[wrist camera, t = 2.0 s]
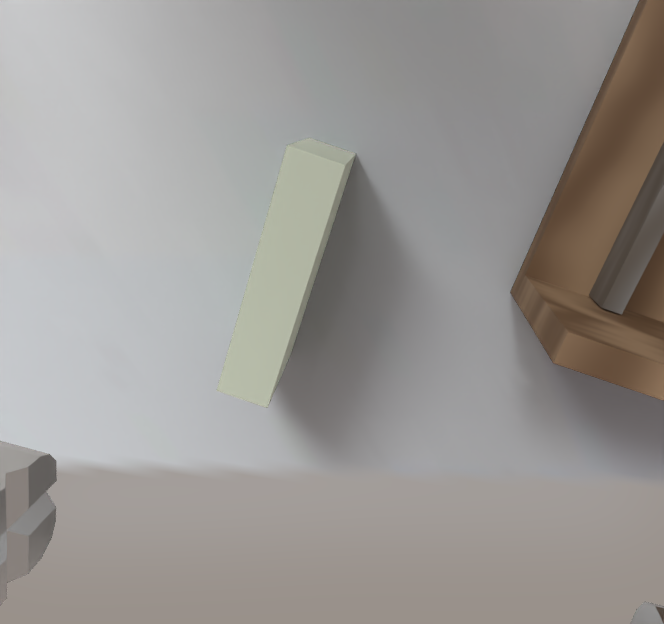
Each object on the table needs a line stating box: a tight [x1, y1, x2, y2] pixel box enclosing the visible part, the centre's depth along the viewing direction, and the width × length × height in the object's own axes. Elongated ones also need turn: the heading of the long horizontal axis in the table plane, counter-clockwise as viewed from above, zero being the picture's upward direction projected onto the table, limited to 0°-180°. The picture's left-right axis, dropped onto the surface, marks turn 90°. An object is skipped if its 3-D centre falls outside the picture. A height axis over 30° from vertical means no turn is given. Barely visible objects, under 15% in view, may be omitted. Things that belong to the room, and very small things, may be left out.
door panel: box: [217, 138, 356, 408], centre depth 36 cm, size 3×14×8 cm, turn 162°
